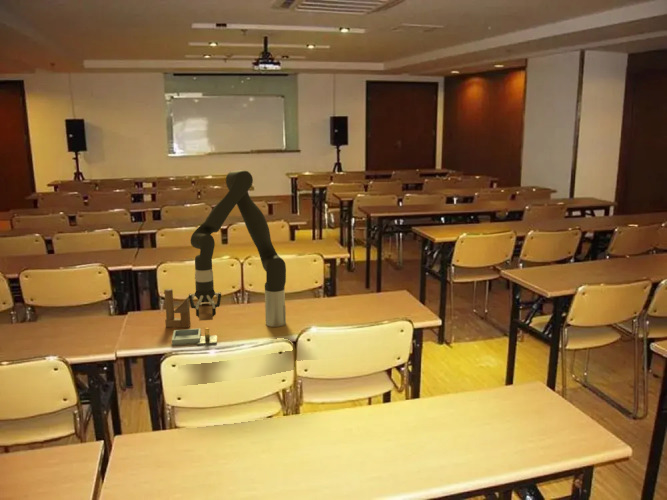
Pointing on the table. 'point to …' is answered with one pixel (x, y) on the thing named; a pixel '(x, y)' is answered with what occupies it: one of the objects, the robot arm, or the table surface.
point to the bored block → (205, 311)
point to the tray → (186, 336)
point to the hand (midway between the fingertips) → (206, 316)
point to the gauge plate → (209, 342)
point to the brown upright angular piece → (176, 311)
